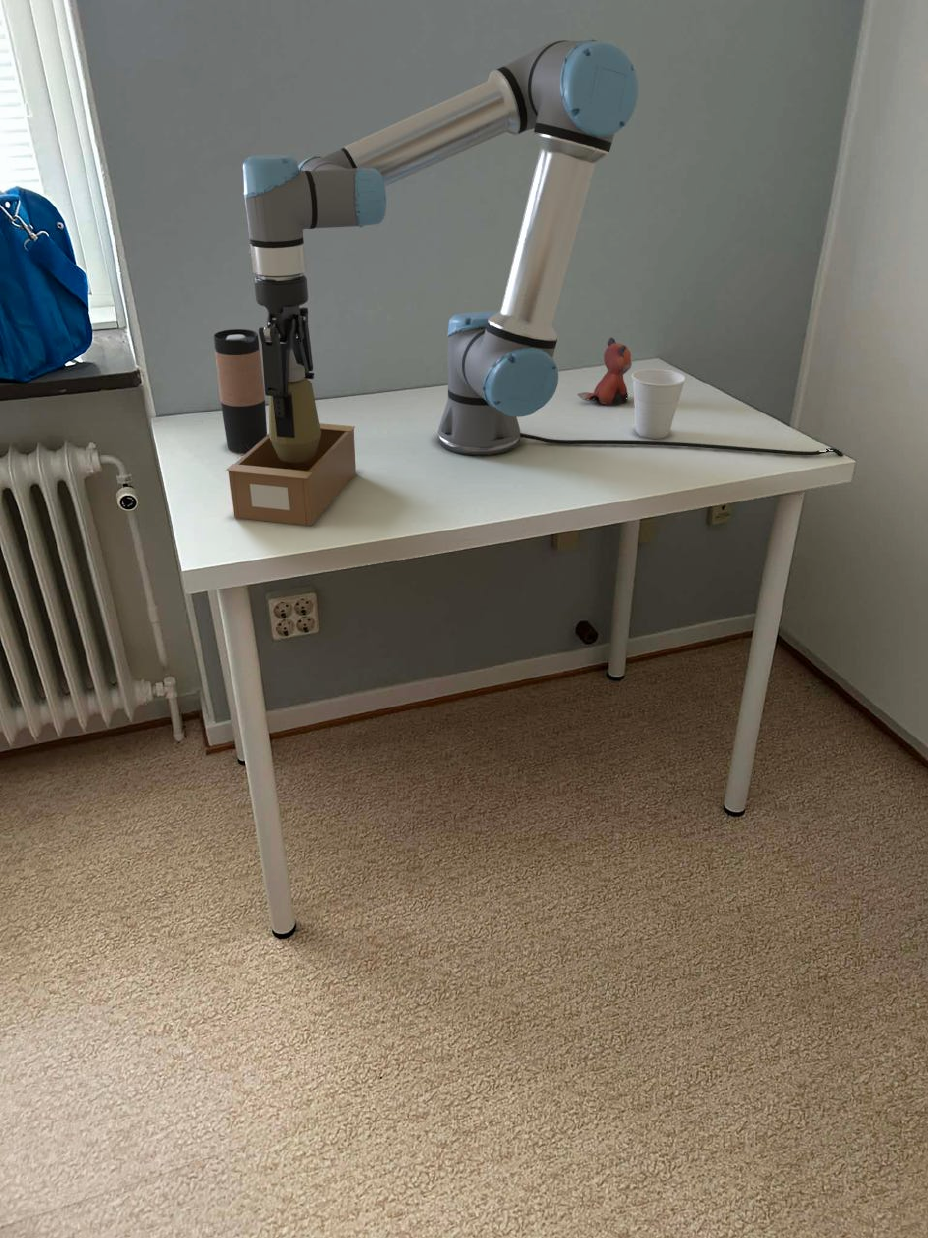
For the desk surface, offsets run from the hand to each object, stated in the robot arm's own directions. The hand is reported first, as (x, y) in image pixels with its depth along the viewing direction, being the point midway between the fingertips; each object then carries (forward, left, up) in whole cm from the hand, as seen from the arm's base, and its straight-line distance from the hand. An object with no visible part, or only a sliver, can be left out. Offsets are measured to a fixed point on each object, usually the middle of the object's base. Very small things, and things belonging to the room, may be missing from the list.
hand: (294, 428), depth 150 cm
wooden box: (0, 0, -11) cm, 11 cm away
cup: (-54, -43, -11) cm, 70 cm away
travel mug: (+17, -18, -11) cm, 27 cm away
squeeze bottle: (0, 0, -5) cm, 5 cm away
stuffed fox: (-43, -60, -11) cm, 75 cm away
